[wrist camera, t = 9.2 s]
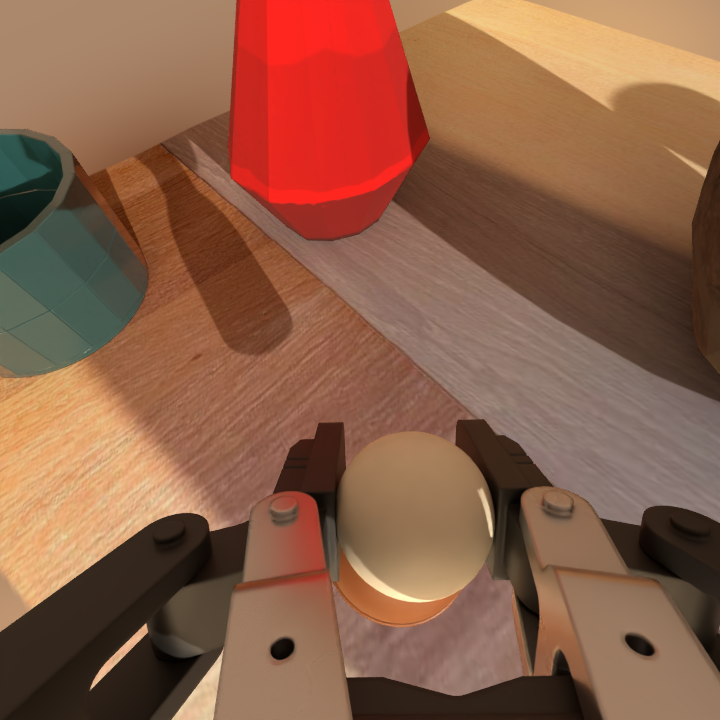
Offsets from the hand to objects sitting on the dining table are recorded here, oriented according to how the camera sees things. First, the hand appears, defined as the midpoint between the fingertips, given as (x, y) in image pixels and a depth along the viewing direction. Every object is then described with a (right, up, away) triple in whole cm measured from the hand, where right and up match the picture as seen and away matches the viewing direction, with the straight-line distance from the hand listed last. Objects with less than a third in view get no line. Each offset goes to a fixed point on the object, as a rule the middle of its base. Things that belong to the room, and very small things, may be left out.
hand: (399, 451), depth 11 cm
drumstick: (0, -5, +5) cm, 7 cm away
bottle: (-3, +16, +23) cm, 28 cm away
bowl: (-25, +8, +19) cm, 32 cm away
